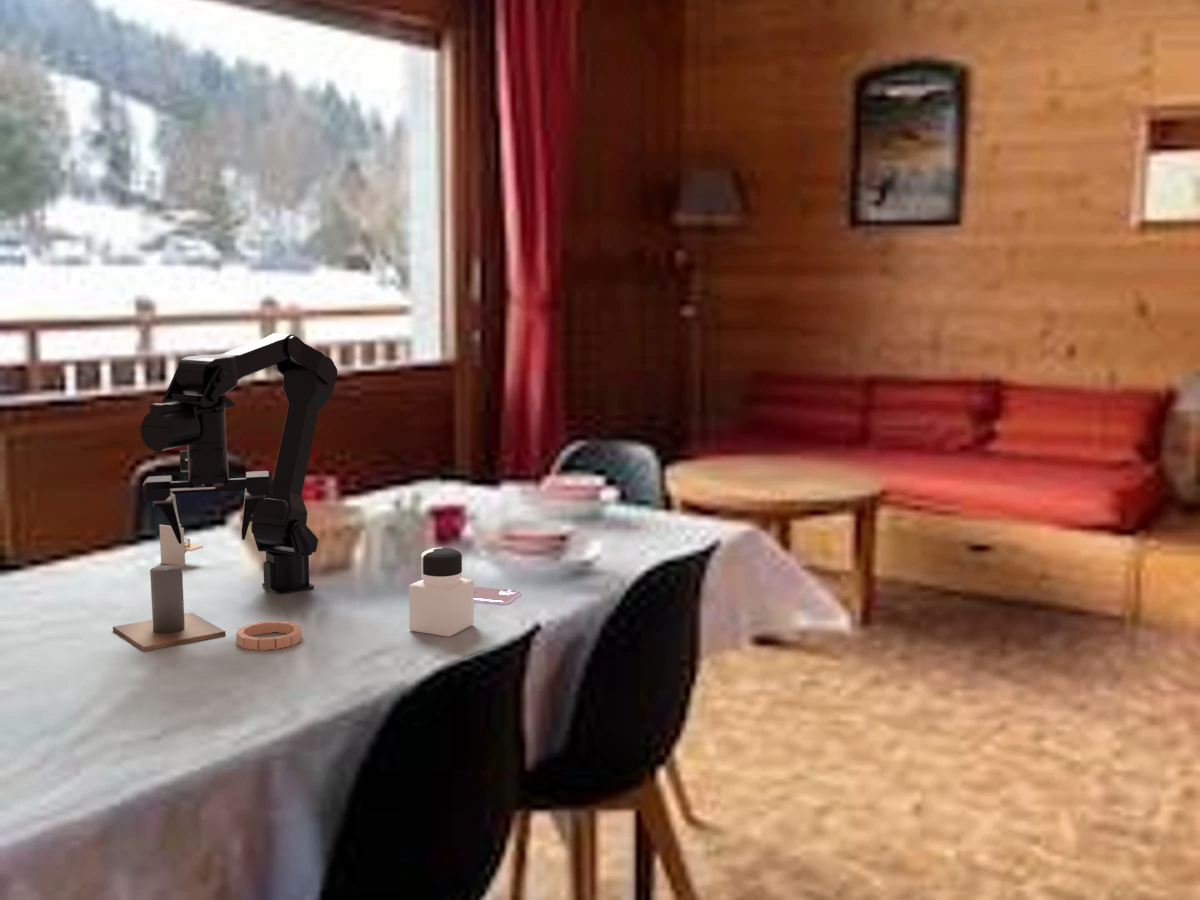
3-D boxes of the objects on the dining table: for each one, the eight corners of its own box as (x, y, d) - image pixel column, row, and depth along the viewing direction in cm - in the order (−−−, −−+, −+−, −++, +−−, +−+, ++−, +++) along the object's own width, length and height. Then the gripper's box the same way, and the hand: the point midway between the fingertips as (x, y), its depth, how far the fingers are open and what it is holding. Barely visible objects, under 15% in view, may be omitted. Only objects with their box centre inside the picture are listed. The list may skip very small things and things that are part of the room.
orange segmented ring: (283, 627, 190) (283, 617, 190) (312, 641, 184) (312, 631, 183) (226, 638, 185) (226, 628, 184) (254, 654, 178) (253, 643, 178)
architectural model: (174, 561, 230) (172, 521, 229) (203, 566, 227) (202, 525, 226) (160, 565, 227) (158, 524, 226) (189, 570, 224) (188, 529, 223)
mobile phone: (439, 581, 215) (523, 589, 211) (439, 587, 215) (523, 595, 211) (420, 593, 208) (507, 601, 204) (420, 598, 208) (507, 607, 204)
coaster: (192, 616, 195) (192, 612, 195) (225, 635, 186) (225, 631, 186) (113, 630, 187) (113, 626, 187) (143, 651, 178) (143, 646, 178)
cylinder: (177, 622, 190) (174, 563, 188) (189, 629, 186) (187, 569, 185) (148, 628, 187) (145, 568, 185) (160, 635, 184) (157, 574, 182)
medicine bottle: (474, 625, 193) (474, 547, 191) (449, 637, 187) (449, 558, 185) (434, 618, 196) (433, 542, 194) (408, 631, 190) (407, 552, 188)
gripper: (269, 429, 202) (273, 525, 204) (144, 434, 197) (151, 532, 200) (271, 441, 191) (275, 542, 194) (139, 446, 186) (145, 550, 189)
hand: (212, 541), depth 194 cm, fingers open, 9 cm apart
